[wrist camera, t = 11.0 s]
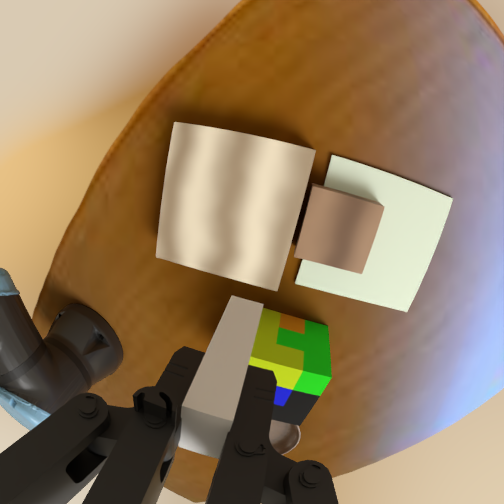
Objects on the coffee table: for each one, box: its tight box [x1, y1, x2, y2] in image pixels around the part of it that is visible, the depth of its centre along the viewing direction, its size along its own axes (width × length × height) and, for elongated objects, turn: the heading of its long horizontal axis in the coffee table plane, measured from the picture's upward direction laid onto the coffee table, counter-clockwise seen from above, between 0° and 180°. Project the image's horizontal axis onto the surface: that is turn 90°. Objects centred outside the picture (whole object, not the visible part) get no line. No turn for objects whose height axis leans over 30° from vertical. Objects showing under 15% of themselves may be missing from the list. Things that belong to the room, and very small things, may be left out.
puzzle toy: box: [248, 308, 332, 426], centre depth 36 cm, size 10×10×10 cm
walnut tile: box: [294, 183, 385, 274], centre depth 31 cm, size 8×8×2 cm
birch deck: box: [156, 122, 316, 291], centre depth 32 cm, size 15×16×4 cm
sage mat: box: [295, 155, 453, 312], centre depth 33 cm, size 16×16×1 cm
